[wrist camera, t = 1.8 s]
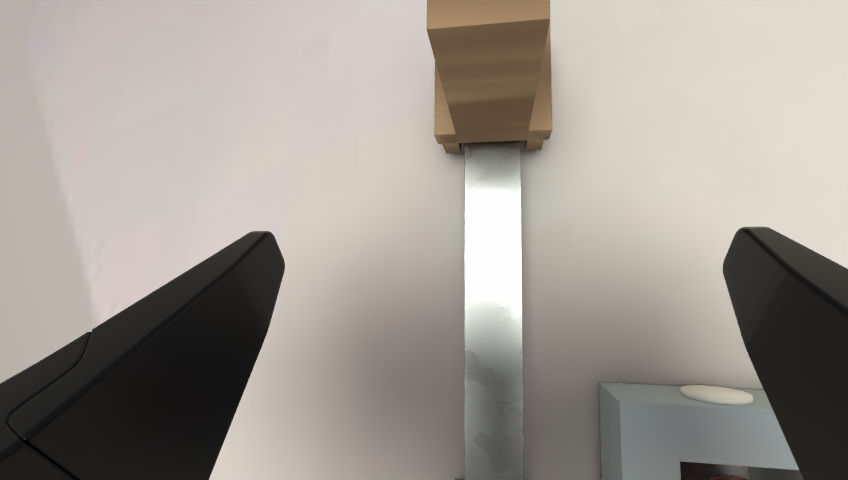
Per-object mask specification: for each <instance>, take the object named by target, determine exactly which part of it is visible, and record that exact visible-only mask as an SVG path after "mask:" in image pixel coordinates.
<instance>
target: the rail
mask: <svg viewBox="0 0 848 480" xmlns="http://www.w3.org/2000/svg"><path fill="white" fill-rule="evenodd" d="M455 480H524V447H523V357H522V267H521V176H520V141H498V142H474V143H465V401H464V479H455Z"/></svg>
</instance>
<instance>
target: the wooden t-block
mask: <svg viewBox="0 0 848 480" xmlns="http://www.w3.org/2000/svg"><path fill="white" fill-rule="evenodd" d="M427 32H428V36H429V39H430V43H431V47H432V50H433V54H434V58H435V132H434V135H435V137H436V140H437V142H438V144H443V146H444V149H445V151H446V153H461V143H474V142H498V141H522V140H525V150H541V147H542V144H543V141H544V140H546V139H549V137H550V134H551V131H552V103H551V51H550V0H427Z"/></svg>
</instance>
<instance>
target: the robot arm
mask: <svg viewBox="0 0 848 480" xmlns="http://www.w3.org/2000/svg"><path fill="white" fill-rule="evenodd" d="M284 269H285V263H284V259H283V256H282V254H281V251H280V249H279V246H278V244H277V242H276V239H275V237H274V235H273V234H272V233H271V232H269V231H253V232H250V233H248V234H247V235H245V236H243V237H242V238H240V239H238V240H237V241H235V242H234V243H232V244H230V245H229V246H227V247H225V248H224V249H222V250H221V251H219V252H217V253H216V254H214V255H212V256H211V257H209V258H208V259H206V260H204V261H203V262H201V263H199V264H198V265H196V266H195V267H193V268H191V269H190V270H188V271H186V272H185V273H183V274H182V275H180V276H178V277H177V278H175V279H173V280H172V281H170V282H169V283H167V284H165V285H164V286H162V287H160V288H159V289H157V290H156V291H154V292H152V293H151V294H149V295H147V296H146V297H144V298H143V299H141V300H139V301H138V302H136V303H134V304H133V305H131V306H130V307H128V308H126V309H125V310H123V311H121V312H120V313H118V314H117V315H115V316H113V317H112V318H110V319H108V320H107V321H105V322H104V323H102V324H100V325H99V326H97V327H95V328H94V329H93V330H92V332H87V333H86V334H84V335H82V336H81V337H79V338H77V339H76V340H74V341H73V342H71V343H69V344H68V345H66V346H64V347H63V348H61V349H60V350H58V351H56V352H54V353H53V354H51V355H49V356H48V357H46V358H44V359H43V360H41V361H39V362H38V363H36V364H34V365H32V366H31V367H29V368H27V369H25V370H23V371H22V372H20V373H18V374H16V375H15V376H13V377H11V378H9V379H7V380H6V381H4V382H2V383H1V384H0V480H209V478H210V475H211V473H212V470H213V468H214V465H215V463H216V460H217V458H218V455H219V452H220V450H221V447H222V445H223V442H224V440H225V437H226V435H227V432H228V430H229V427H230V425H231V422H232V420H233V417H234V415H235V412H236V410H237V407H238V405H239V402H240V400H241V397H242V395H243V392H244V390H245V387H246V385H247V382H248V380H249V377H250V375H251V372H252V370H253V367H254V365H255V362H256V360H257V357H258V355H259V352H260V350H261V347H262V344H263V342H264V339H265V337H266V334H267V331H268V328H269V325H270V322H271V318H272V314H273V311H274V307H275V303H276V300H277V296H278V292H279V289H280V285H281V281H282V278H283V274H284ZM723 274H724V278H725V281H726V284H727V288H728V291H729V295H730V298H731V301H732V305H733V308H734V311H735V315H736V318H737V322H738V325H739V328H740V332H741V335H742V338H743V341H744V344H745V347H746V349H747V352H748V354H749V357H750V359H751V361H752V364H753V366H754V368H755V371H756V373H757V375H758V377H759V380H760V382H761V384H762V387H763V389H764V391H765V393H766V396H767V398H768V400H769V402H770V405H771V407H772V409H773V412H774V414H775V416H776V418H777V421H778V423H779V425H780V427H781V430H782V432H783V434H784V437H785V439H786V441H787V443H788V446H789V448H790V450H791V453H792V455H793V457H794V459H795V462H796V464H797V466H798V468H799V471H800V473H801V475H802V478H803V480H848V269H847V268H845V267H843V266H841V265H839V264H837V263H835V262H834V261H832V260H830V259H828V258H826V257H824V256H822V255H820V254H818V253H816V252H814V251H813V250H811V249H809V248H807V247H805V246H803V245H801V244H799V243H797V242H795V241H793V240H791V239H790V238H788V237H786V236H784V235H782V234H780V233H778V232H776V231H774V230H772V229H770V228H768V227H743V228H740V229H739V230H738V231H737V232H736V234H735V236H734V238H733V240H732V243H731V245H730V248H729V250H728V252H727V255H726V257H725V259H724V263H723Z"/></svg>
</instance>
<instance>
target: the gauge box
mask: <svg viewBox="0 0 848 480" xmlns="http://www.w3.org/2000/svg"><path fill="white" fill-rule="evenodd" d="M599 407H600V441H601V475H602V480H681V473H680V462H694V463H708V464H722V465H735V466H749V467H750V475H751V480H803V478H802V475H801V473H800V471H799V468H798V466H797V464H796V462H795V459H794V457H793V455H792V453H791V450H790V448H789V446H788V443H787V441H786V439H785V437H784V434H783V432H782V430H781V427H780V425H779V423H778V421H777V418H776V416H775V414H774V412H773V409H772V407H771V405H770V402H769V400H768V398H767V396H766V393H765V391H764V390H760V389H739V388H724V387H717V386H706V385H687V386H674V385H652V384H630V383H609V382H599Z"/></svg>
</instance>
